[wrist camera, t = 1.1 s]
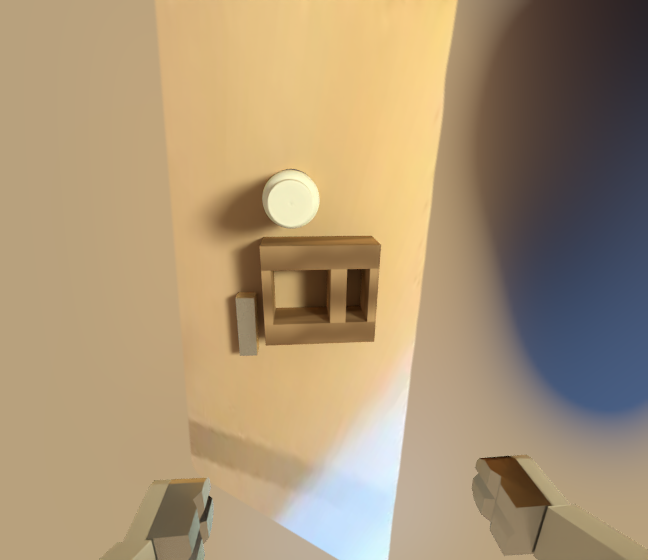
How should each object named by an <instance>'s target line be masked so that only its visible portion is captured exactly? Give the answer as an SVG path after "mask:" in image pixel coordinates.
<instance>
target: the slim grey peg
mask: <svg viewBox="0 0 648 560" xmlns="http://www.w3.org/2000/svg"><path fill="white" fill-rule="evenodd" d="M235 299H236V312H237V325H238V338H239V351H240V356H249V355H257V354H258V350H259V337H258V318H257V299H256V292H238V294H237V296H236V298H235Z"/></svg>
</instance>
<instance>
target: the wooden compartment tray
mask: <svg viewBox="0 0 648 560" xmlns="http://www.w3.org/2000/svg"><path fill="white" fill-rule="evenodd" d="M259 247H260V263H261V278H262V294H263V310H264V325H265V341H266V345H292V344H319V343H346V342H373V341H374V336H375V321H376V307H377V293H378V279H379V265H380V251H381V245H380V244H379V243H378V242H377V241H376V240H375V239H374V238H373V237H372V236H322V237H263V239H262V242H261V244H260V246H259ZM347 269H362V277H361V297H360V306H346V289H347ZM280 270H327V307H301V308H276V307H275V286H274V271H280Z"/></svg>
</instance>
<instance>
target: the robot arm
mask: <svg viewBox="0 0 648 560" xmlns="http://www.w3.org/2000/svg"><path fill="white" fill-rule="evenodd" d="M476 470H477V471H478V474H477V475H476V476H475V477H474V478H473V483H472V491H473V496H474V500H475V502H476V505H477V507H478V509H479V511H480V513H481V514H482V515H483V516H484V517H485V518H486V519H488V520H489V521H490V522H491V524H490V531H491V533H492V535H493V537H494V538H495V540H496V542H497V544H498V546H499V548H500V549H501V551H502V553H503V555H504V556H505V555H522V554H534V557H535V558H536V559H538V560H648V549H647V548H645V547H644V546H642V545H640V544H639V543H637V542H636V541H634V540H632V539H631V538H629V537H627V536H626V535H624V534H623V533H621V532H619V531H618V530H616V529H615V528H613V527H611V526H610V525H608V524H607V523H605V522H603V521H601V520H600V519H599V518H597V517H595V516H593V515H592V514H590V513H589V512H587V511H586V510H584V509H582V508H581V507H579V506H578V505H576V504H570V503H569V502H568V501H567V500H566V498H565V497H564V496H563V495H562V494H561V492H560V491H559V490H558V489H557V488H556V487H555V485H554V484H553V483H552V482H551V481H550V479H549V478H548V477H547V476H546V475H545V473H544V472H543V471H542V470H541V469H540V467H539V466H538V465H537V464H536V463H535V462H534V460H533V459H532V458H531V457H529V456H528V455H517V456H516V455H515V456H499V457H487V458H479V459H478V460H477V462H476ZM210 487H211V486H210V480H209V478H192V479H172V480H154V482H153V483H152V484H151V485H150V486H149V488H148V490H147V493H146V494H145V497H144V499H143V501H142V503H141V505H140V507H139V509H138V511H137V513H136V516H135V518H134V520H133V522H132V524H131V526H130V528H129V530H128V532H127V534H126V536H125V538H124V541H123V542H119V543H116V544H115V545H114V546H113V547H112V548H111V549H110V550H109V551H107V552H106V553H105V554H104V555H103V556H102V557H101V558H100V559H99V560H204V556H205V554H204V549H203V544H204V543H205V542H206V540H207V539H208V538H209V536H210V531H211V527H212V520H213V500H212V498H211V497H210V496H209V491H210Z"/></svg>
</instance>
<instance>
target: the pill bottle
mask: <svg viewBox="0 0 648 560" xmlns="http://www.w3.org/2000/svg"><path fill="white" fill-rule="evenodd" d="M262 202H263V207H264V210H265V212H266V214H267V215H268V217H269V218H270V219H271V220H272V221H273V222H274V223H275V224H277V225H279V226H281V227H284V228H299V227H302V226H304V225H306V224H308V223H309V222H310V221H311V220H312V219H313V218H314V216H315V215H316V213H317V211H318V208H319V193H318V189H317V187H316V185H315V183H314V182H313V181H312V179H311V178H310V177H309V176H308V175H306V174H305V173H303V172H302V171H299V170H296V169H286V170H283V171H281V172H278V173H277V174H275V175H273V176H272V177H271V178H270V179H269V180H268V182H267V183H266V185H265V187H264V190H263V195H262Z"/></svg>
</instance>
